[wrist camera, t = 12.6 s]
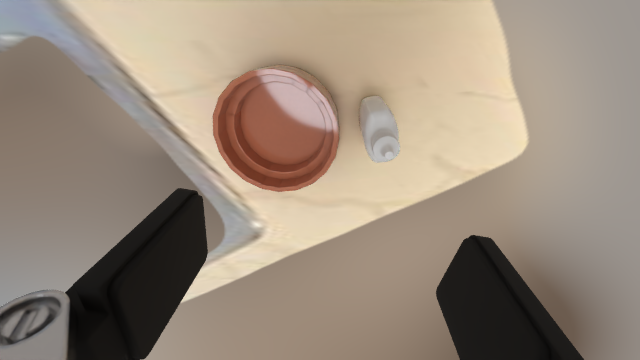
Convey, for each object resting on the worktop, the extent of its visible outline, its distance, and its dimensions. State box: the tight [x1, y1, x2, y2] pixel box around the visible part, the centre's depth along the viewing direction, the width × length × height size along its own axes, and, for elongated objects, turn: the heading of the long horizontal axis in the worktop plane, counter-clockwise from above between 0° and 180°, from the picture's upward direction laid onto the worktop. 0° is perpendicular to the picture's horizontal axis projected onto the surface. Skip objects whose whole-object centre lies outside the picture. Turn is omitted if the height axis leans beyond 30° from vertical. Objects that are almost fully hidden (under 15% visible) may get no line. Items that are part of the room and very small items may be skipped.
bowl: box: [213, 65, 339, 192], centre depth 31 cm, size 14×14×5 cm
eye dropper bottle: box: [359, 96, 400, 163], centre depth 27 cm, size 4×6×12 cm
